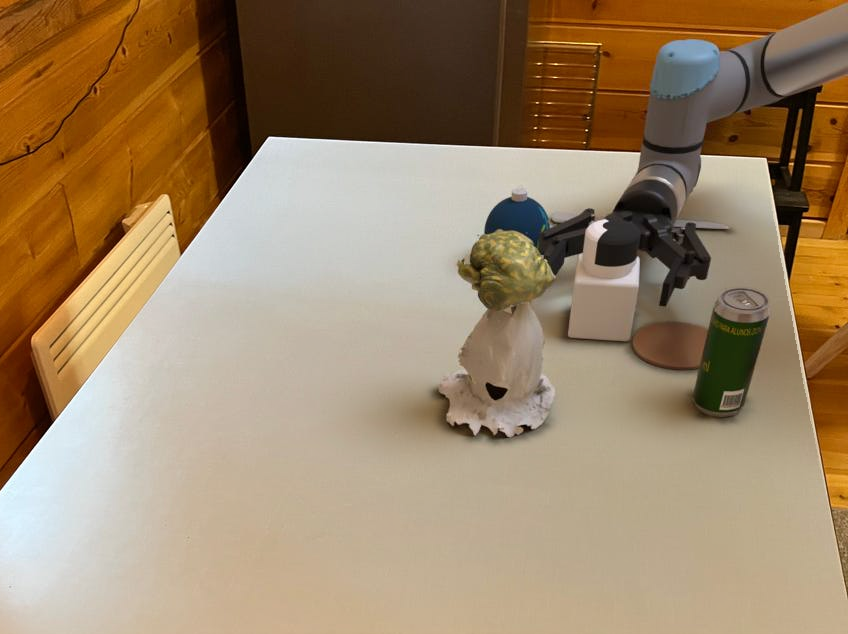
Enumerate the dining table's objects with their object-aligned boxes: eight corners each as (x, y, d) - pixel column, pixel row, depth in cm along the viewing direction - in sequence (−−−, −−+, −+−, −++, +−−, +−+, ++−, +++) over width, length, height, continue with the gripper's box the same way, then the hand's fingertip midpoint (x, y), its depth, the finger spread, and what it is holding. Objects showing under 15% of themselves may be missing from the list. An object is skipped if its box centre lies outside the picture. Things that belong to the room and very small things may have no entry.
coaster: (704, 321, 115) (704, 318, 114) (734, 365, 108) (734, 362, 108) (621, 328, 114) (622, 325, 114) (646, 373, 108) (647, 370, 107)
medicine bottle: (630, 312, 117) (647, 213, 108) (629, 342, 112) (646, 241, 103) (571, 308, 118) (583, 210, 109) (567, 338, 113) (579, 238, 105)
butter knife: (552, 210, 136) (550, 219, 134) (729, 220, 131) (729, 230, 129) (552, 213, 136) (550, 222, 134) (728, 224, 132) (728, 233, 130)
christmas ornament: (516, 284, 123) (522, 205, 116) (469, 263, 127) (472, 186, 120) (560, 262, 126) (568, 184, 119) (513, 242, 131) (518, 166, 124)
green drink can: (753, 411, 102) (784, 305, 93) (710, 423, 101) (737, 317, 92) (724, 386, 105) (751, 281, 96) (681, 397, 104) (704, 293, 95)
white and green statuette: (539, 367, 109) (555, 204, 96) (565, 431, 101) (586, 261, 87) (435, 376, 109) (437, 213, 96) (453, 441, 100) (457, 272, 87)
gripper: (742, 252, 120) (709, 334, 107) (550, 225, 128) (497, 298, 115) (757, 191, 115) (724, 270, 102) (555, 166, 123) (501, 236, 110)
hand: (603, 285), depth 108 cm, fingers open, 13 cm apart
